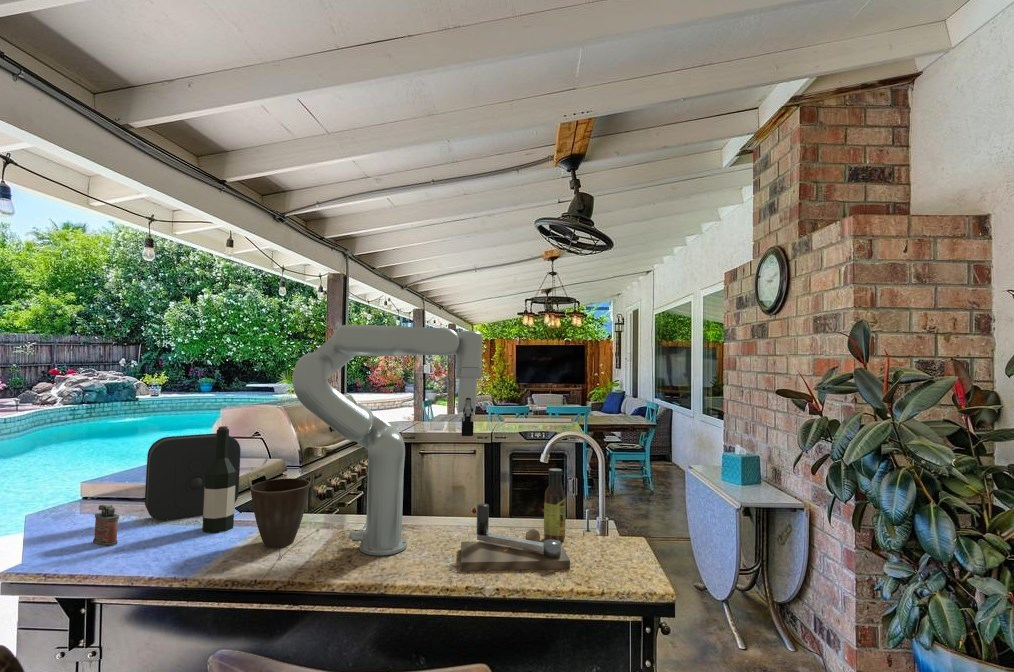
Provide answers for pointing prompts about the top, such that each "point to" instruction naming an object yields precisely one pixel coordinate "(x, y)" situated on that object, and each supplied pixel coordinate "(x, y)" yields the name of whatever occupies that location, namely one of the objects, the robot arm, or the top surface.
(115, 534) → the lighter
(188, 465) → the speaker
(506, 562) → the board
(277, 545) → the plant pot
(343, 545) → the top surface
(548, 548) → the lever
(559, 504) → the sauce bottle
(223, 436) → the wine bottle
